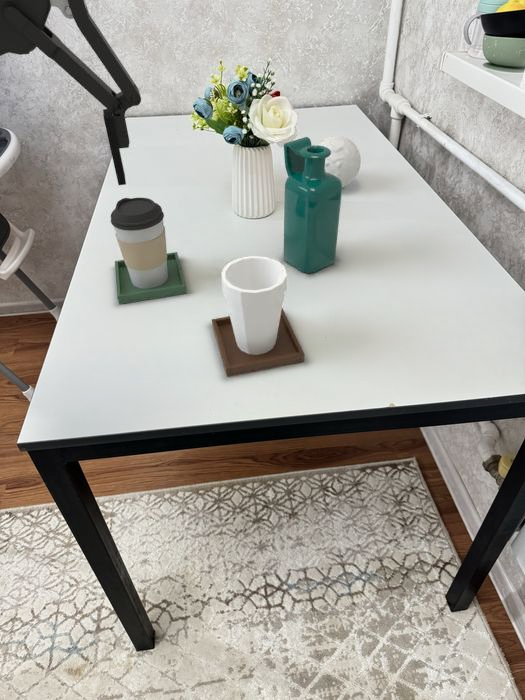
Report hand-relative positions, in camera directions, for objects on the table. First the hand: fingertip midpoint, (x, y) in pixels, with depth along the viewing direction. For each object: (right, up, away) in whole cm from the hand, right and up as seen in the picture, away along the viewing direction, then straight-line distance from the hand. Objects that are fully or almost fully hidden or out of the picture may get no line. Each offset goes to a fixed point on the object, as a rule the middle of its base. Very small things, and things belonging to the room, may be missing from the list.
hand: (53, 188), depth 50 cm
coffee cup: (0, -3, +43) cm, 43 cm away
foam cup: (+20, -15, +29) cm, 39 cm away
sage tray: (0, -3, +43) cm, 44 cm away
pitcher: (+30, +2, +48) cm, 57 cm away
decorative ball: (+39, +24, +73) cm, 86 cm away
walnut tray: (+20, -15, +30) cm, 39 cm away
